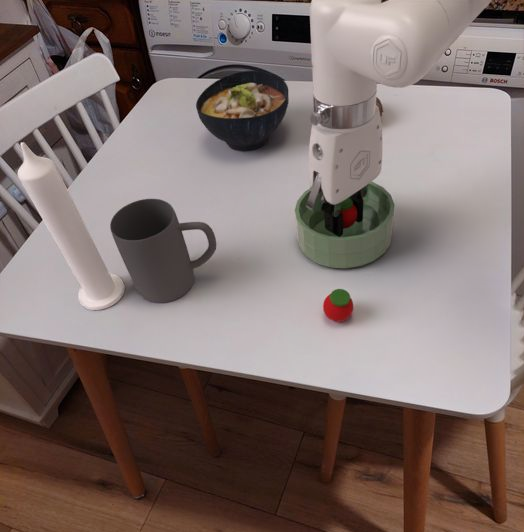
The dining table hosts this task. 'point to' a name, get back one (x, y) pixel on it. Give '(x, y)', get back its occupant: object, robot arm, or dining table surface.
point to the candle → (69, 231)
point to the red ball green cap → (348, 213)
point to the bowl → (244, 108)
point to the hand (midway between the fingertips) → (343, 224)
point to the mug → (157, 248)
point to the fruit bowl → (347, 232)
